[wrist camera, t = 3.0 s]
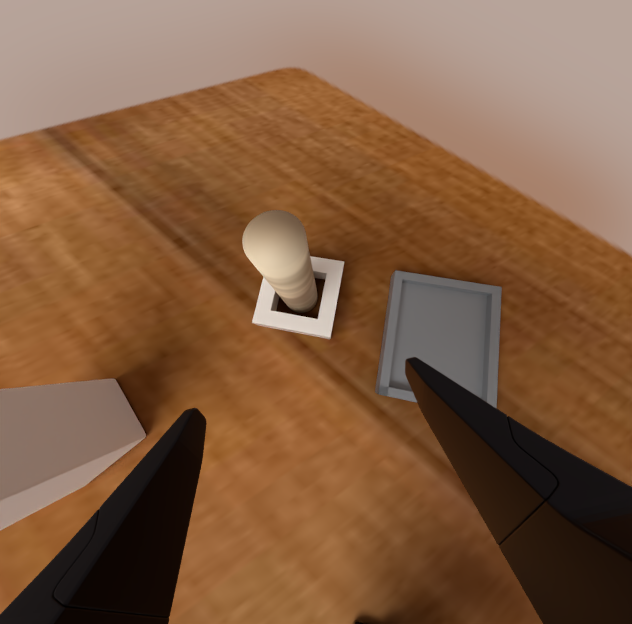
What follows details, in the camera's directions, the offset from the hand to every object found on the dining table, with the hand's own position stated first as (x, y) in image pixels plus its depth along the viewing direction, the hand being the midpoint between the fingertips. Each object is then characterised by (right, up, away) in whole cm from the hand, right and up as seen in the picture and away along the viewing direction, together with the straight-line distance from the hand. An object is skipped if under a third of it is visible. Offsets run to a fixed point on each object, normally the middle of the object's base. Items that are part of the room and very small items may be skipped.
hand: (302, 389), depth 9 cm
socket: (-1, +5, +14) cm, 15 cm away
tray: (+12, 0, +13) cm, 18 cm away
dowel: (-1, +5, +14) cm, 15 cm away
